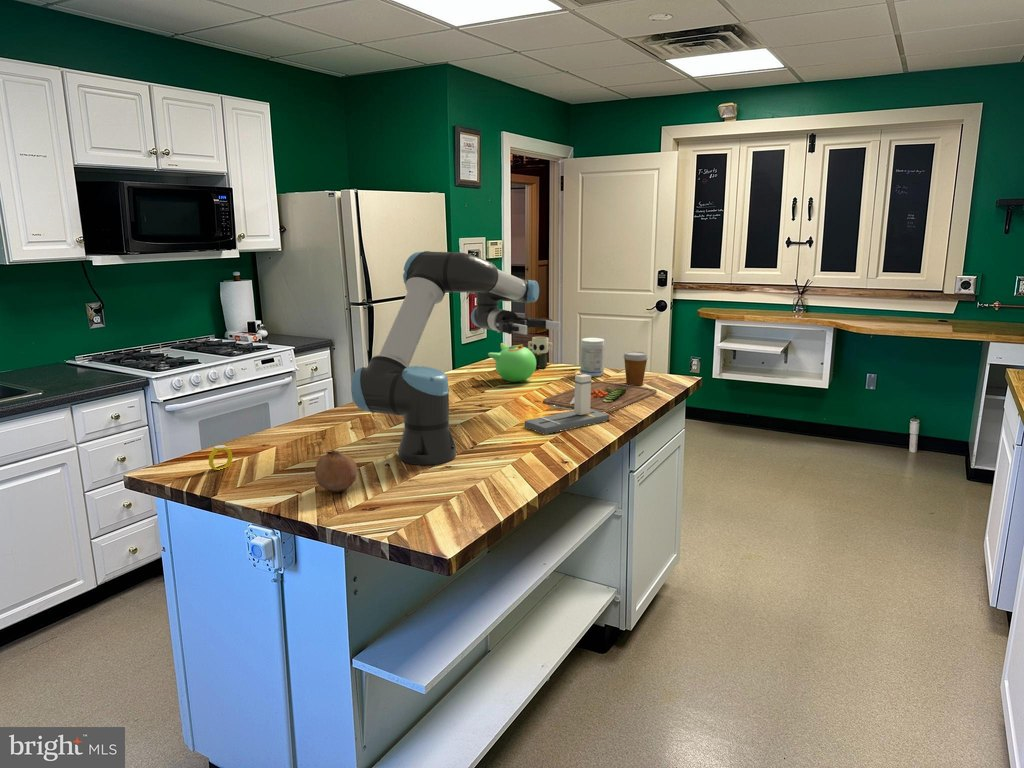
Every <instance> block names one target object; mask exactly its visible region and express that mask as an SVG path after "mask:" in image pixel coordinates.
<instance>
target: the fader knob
mask: <svg viewBox="0 0 1024 768" xmlns="http://www.w3.org/2000/svg"><path fill="white" fill-rule="evenodd" d="M591 382H592V377H591V376H590V375H586V374H577V375H574V388H575V400H574V413H576V414H579V415H584V414H588V413H590V401H591Z"/></svg>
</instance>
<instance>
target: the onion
mask: <svg viewBox="0 0 1024 768" xmlns="http://www.w3.org/2000/svg"><path fill="white" fill-rule="evenodd" d="M358 472H359V471H358V465H357V463H356V461H355V460H354V459H353V458H352V457H351V456H349V455H347V454H344V453H342V452H341V451H339V450H336V449H330V450H329V451H326V454H324V455H323V456H321V457H320V458H319V459H318V460H317V462H316V464H315V468H314V478H315V480H316V482H317V484H318V485H319V486H320V487H321V488H323V489H325V490H328V491H330V492H332V493H341V492H344V491H346V490H347V489H349V488H350V487H352V485H353V484H354V483H355V481H356V480H357V476H358V474H359V473H358Z"/></svg>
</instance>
